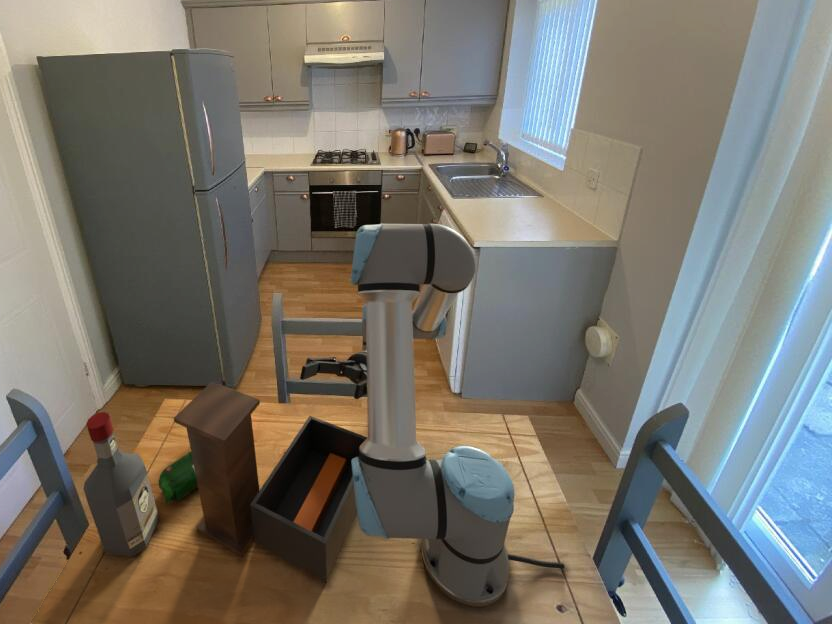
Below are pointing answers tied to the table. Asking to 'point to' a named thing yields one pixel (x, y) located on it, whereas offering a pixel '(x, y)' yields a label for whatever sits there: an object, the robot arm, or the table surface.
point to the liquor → (119, 493)
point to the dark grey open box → (291, 489)
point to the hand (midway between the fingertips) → (328, 382)
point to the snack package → (178, 478)
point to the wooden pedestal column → (223, 463)
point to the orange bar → (321, 493)
